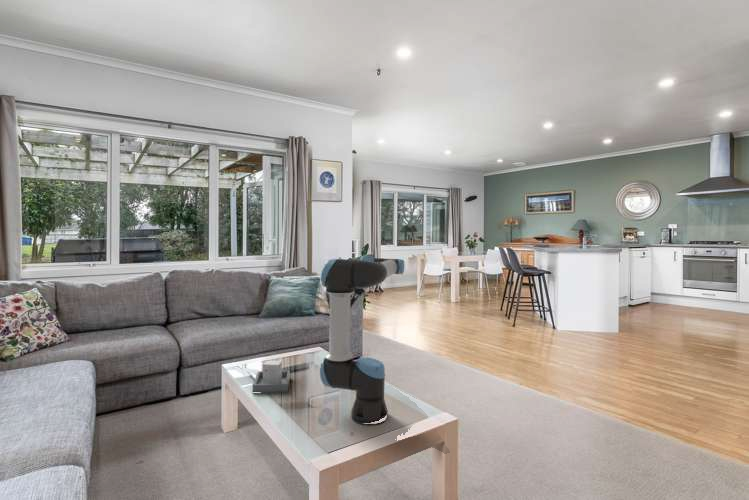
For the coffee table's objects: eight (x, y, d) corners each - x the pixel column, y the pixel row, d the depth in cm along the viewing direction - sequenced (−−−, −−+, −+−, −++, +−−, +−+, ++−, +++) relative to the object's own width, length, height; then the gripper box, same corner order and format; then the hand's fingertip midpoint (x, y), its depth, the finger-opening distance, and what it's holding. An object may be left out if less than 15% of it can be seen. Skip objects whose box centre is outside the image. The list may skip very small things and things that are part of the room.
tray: (287, 392, 185) (287, 384, 185) (252, 393, 183) (252, 385, 183) (289, 378, 203) (290, 370, 203) (257, 379, 201) (258, 371, 200)
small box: (281, 382, 195) (282, 361, 195) (278, 386, 190) (279, 364, 189) (265, 381, 196) (266, 360, 195) (262, 385, 190) (262, 364, 189)
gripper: (372, 294, 197) (342, 326, 193) (358, 287, 220) (331, 315, 216) (362, 284, 195) (332, 315, 191) (349, 278, 218) (321, 306, 214)
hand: (331, 315), depth 203 cm, fingers open, 13 cm apart
